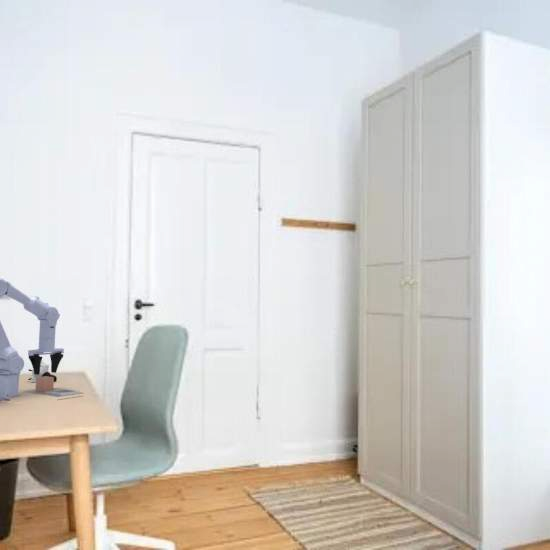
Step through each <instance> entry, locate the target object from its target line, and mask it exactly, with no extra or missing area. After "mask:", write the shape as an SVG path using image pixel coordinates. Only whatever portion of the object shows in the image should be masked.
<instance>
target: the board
mask: <svg viewBox="0 0 550 550" xmlns="http://www.w3.org/2000/svg"><path fill="white" fill-rule="evenodd" d="M60 389H61V388H56V387H53V390H60ZM24 392H25V393H32V394H39V395H45V396H51V397H57V398H59V399H58V401H61V400H63V398H60V397H62V396H57V395H51V394H46V391H45V392H41V391H35V389H29V390H24ZM58 393H67V392H58ZM80 394H83V392H81V391H80V393H79V394H78V398H81V397H83V395H81V396H79V395H80ZM74 395H75V394H72V395H71V396H72V397H71V399H75V398H76V396H74ZM66 396H69V395H65V396H64V397H66ZM66 399H70V397H66V398H64V400H66Z"/></svg>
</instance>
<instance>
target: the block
mask: <svg viewBox="0 0 550 550" xmlns="http://www.w3.org/2000/svg"><path fill="white" fill-rule="evenodd" d="M54 384H55V382H54V377H48V376H44V377H36V383H35V388H34V390H35V391H41V392H45V391H53V388H54Z"/></svg>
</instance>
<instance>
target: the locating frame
mask: <svg viewBox="0 0 550 550" xmlns="http://www.w3.org/2000/svg"><path fill="white" fill-rule="evenodd" d="M59 389H60V390H53V391H46V394H51V395H57V396H61V397H66V396H65V395H68V396H73V395H72V394H74V395H80V394H79V393H80V392H81V391H80V390H74V389H68V388H64V389H63V388H59ZM58 392H67V393H58Z"/></svg>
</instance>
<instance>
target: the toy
mask: <svg viewBox="0 0 550 550" xmlns="http://www.w3.org/2000/svg"><path fill="white" fill-rule="evenodd" d="M49 367H50V366H49V364H46V363H45V362H44V361H43V359H42V360H41V364H40V373H39V375H36V374H34V370H33V369H30V368H29V369H28V372H31V378H28V379H27V380H28V381H31V384H36V377H44V376H48V377H54V383H55V382H57V381H58V378H57V375H54V374H52V373H50V372H49Z"/></svg>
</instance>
